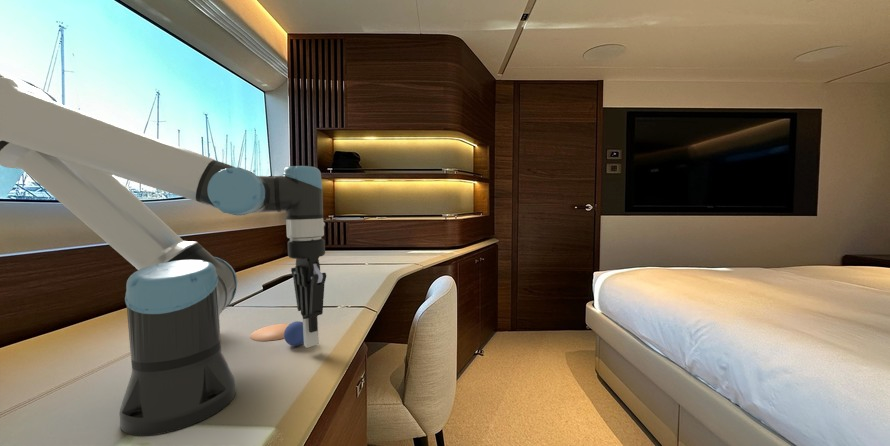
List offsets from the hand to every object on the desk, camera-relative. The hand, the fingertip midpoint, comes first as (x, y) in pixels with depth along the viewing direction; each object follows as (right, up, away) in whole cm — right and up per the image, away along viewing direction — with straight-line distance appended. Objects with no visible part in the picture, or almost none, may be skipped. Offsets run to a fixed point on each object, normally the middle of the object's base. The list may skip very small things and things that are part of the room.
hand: (311, 344), depth 78 cm
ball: (-5, +1, +5) cm, 7 cm away
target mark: (-14, -2, +14) cm, 20 cm away
